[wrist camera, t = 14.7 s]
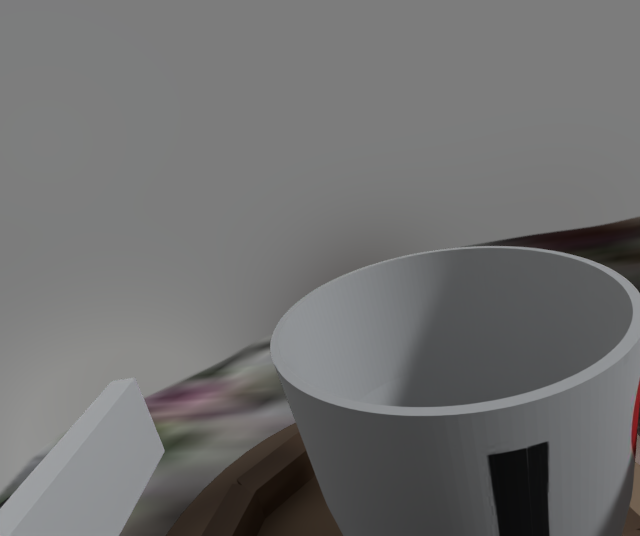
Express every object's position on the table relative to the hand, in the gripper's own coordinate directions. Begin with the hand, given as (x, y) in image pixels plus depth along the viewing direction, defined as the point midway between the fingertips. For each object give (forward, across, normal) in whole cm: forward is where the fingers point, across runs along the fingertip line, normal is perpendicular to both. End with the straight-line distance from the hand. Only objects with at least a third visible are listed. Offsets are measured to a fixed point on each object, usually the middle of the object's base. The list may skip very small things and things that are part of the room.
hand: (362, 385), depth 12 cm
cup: (-1, +2, -8) cm, 8 cm away
